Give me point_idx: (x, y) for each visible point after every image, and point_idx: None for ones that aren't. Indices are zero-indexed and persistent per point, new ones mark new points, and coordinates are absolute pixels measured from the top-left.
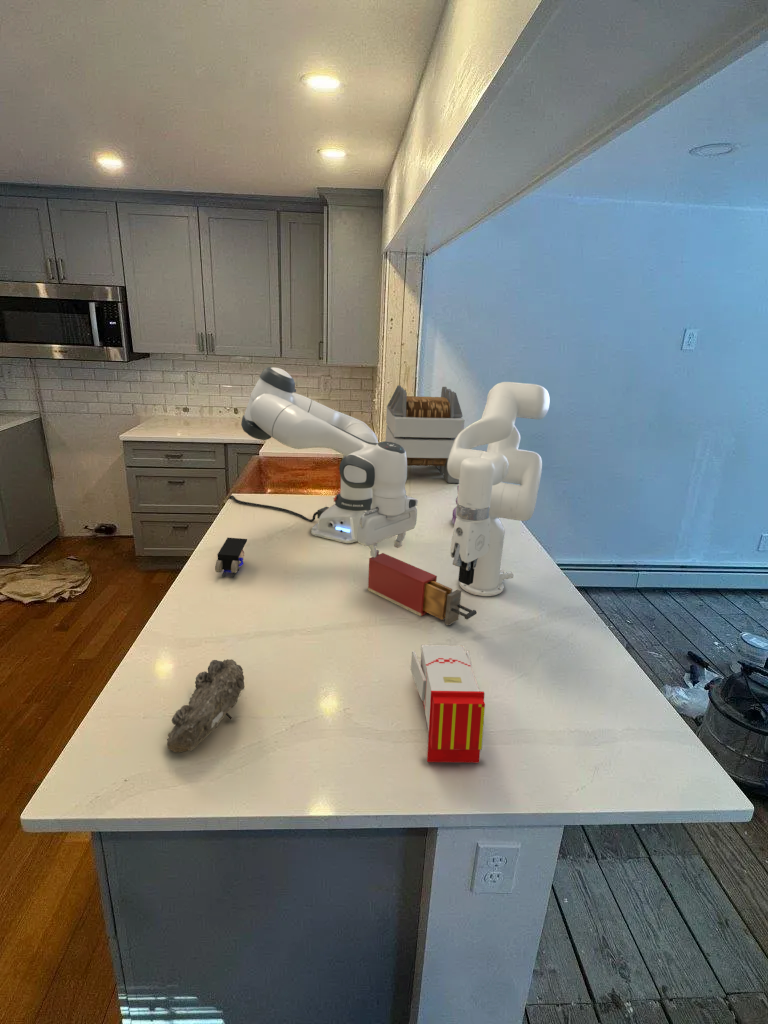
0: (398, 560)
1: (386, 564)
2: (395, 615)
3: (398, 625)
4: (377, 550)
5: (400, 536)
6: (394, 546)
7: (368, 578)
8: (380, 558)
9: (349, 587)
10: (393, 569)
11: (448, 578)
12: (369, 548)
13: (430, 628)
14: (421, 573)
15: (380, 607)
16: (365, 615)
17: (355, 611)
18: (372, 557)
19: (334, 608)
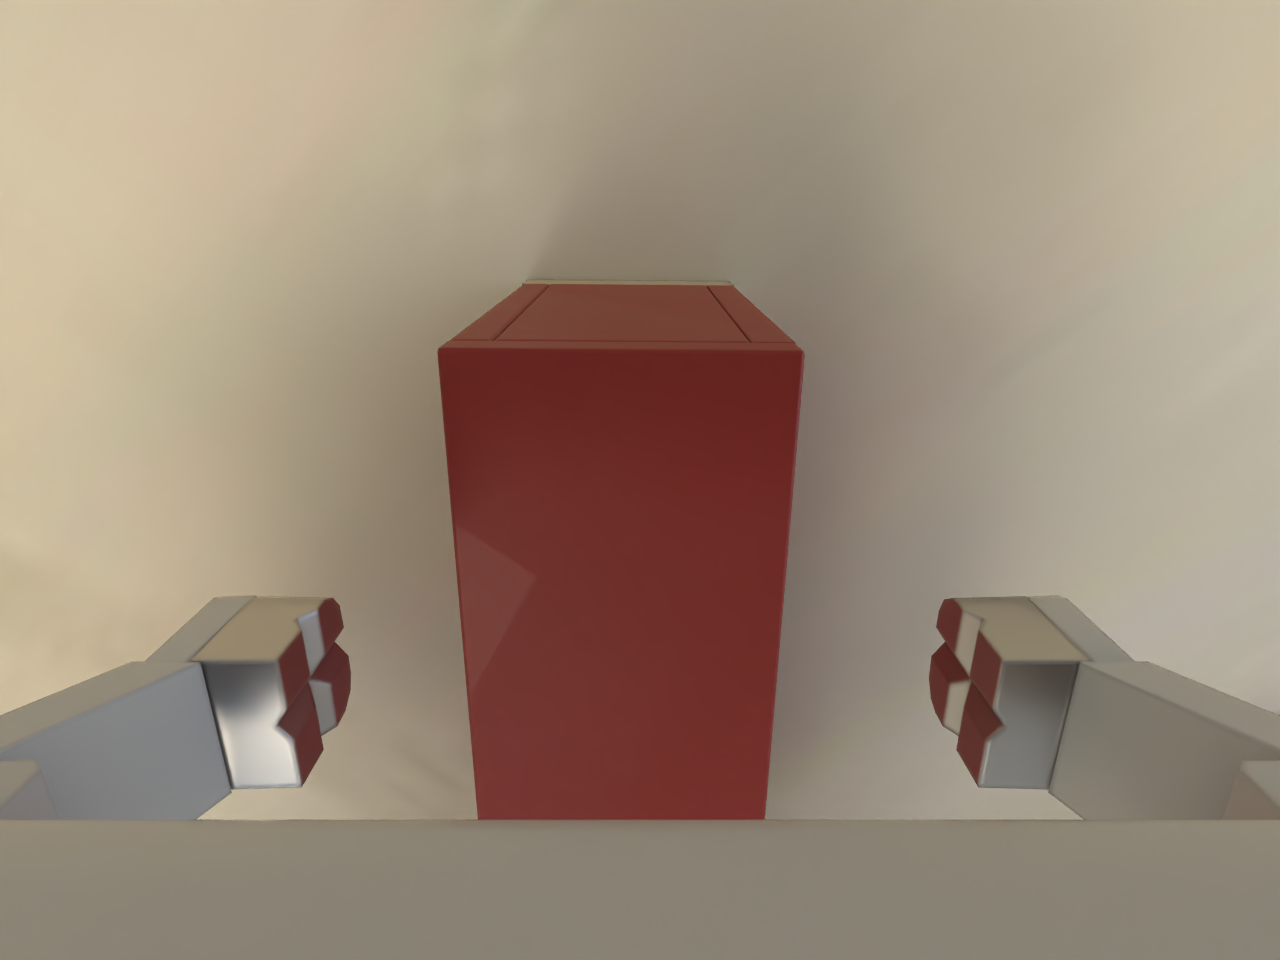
0: (748, 704)
1: (501, 685)
2: (416, 717)
3: (340, 805)
4: (269, 771)
5: (1183, 818)
6: (943, 602)
7: (504, 299)
8: (588, 486)
9: (416, 82)
10: (478, 818)
11: (1258, 624)
12: (71, 691)
13: None
14: None
15: (404, 573)
16: (218, 579)
17: (181, 483)
18: (507, 366)
19: (37, 320)
